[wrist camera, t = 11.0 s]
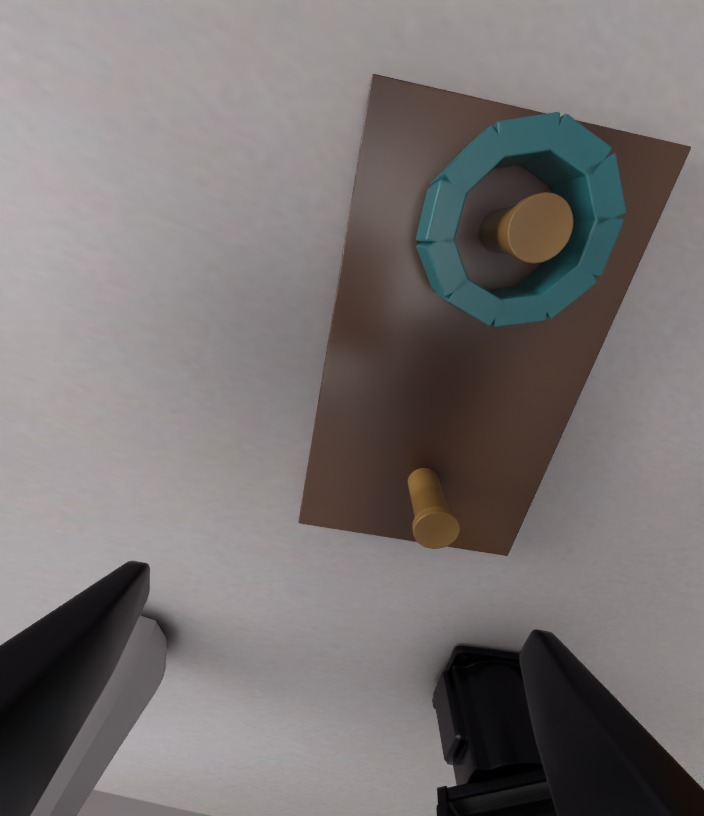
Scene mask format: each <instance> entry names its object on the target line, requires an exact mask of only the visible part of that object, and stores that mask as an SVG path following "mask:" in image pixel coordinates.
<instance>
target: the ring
mask: <svg viewBox="0 0 704 816" xmlns="http://www.w3.org/2000/svg"><path fill="white" fill-rule="evenodd" d="M611 149H612V147H611V146H609V145H608V144H607V143H605V142H604V141H603V140H601V139H600V138H599V137H597V136H596V135H595V134H593V133H592V132H591V131H589V130H588V129H587V128H585V127H584V126H583V125H581V124H580V123H579V122H577V121H576V120H575V119H573V118H572V117H570V116H569V115H568V114H564V115H563V116H561V117H560V113H559V112H555V113H548V114H542V115H535V116H529V117H523V118H516V119H510V120H503V121H499V122H497V123H496V124H495V125H494V126H492V125H491V126H489V127H488V128H487V129H486V130H485V131H483V132H482V133H481V134H480V135H479V136H478V137H476V138H475V139H474V140H473V141H472V142H471V143H469V144H468V145H467V146H466V147H465V148H464V149H463V150H462V151H461V152H460V153H459V154H458V155H457V156H456V157H455V158H454V159H453V161H452V162H451V163H450V164H449V165H448V166H447V167H446V168H445V169H444V170H443V171H442V172H441V173H440V174H439V175H438V176H437V177H436V178H435V179H434V180H433V181H432V182H431V185H432V186H431V187H430V188H428V189H427V192H426V197H425V201H424V205H423V210H422V214H421V218H420V222H419V227H418V231H417V235H416V241H418V242H421V243H419V244H417V245H416V248H417V251H418V253H419V256H420V259H421V261H422V264H423V267H424V269H425V272H426V274H427V277H428V280H429V282H430V285H431V288H432V289H433V290H435V293H436V294H437V295H439V296H440V297H442V298H443V299H445V300H446V301H448V302H449V303H451V304H452V305H454V306H456V307H458V308H459V309H461V310H463V311H464V312H466V313H468V314H469V315H471V316H473V317H474V318H476V319H478V320H479V321H481V322H483V323H485V324H486V325H488V326H490V325H493V326H494V327H501V326H509V325H517V324H525V323H533V322H541V321H546V317H549V318H553V317H554V316H555V315H557V314H558V313H559V312H561V311H562V310H563V309H564V308H566V307H567V306H568V305H569V304H571V303H572V302H573V301H574V300H576V299H577V298H578V297H579V296H581V295H582V294H583V293H584V292H586V291H587V290H588V289H590V288H591V287H592V286H593V285H595V284H596V283H597V280H596V279H595V277H600V276H601V275H602V273H603V271H604V268H605V266H606V264H607V261H608V259H609V256H610V254H611V252H612V249H613V247H614V245H615V242H616V240H617V237H618V235H619V233H620V230H621V228H622V226H623V223H624V219H623V218H618V217H619V216H621V215H624V214H625V213H626V207H625V202H624V196H623V191H622V185H621V180H620V174H619V168H618V163H617V157H616V154H615V153H613V154H610V155H608V154H609V152H610V151H611ZM515 165H521V166H523V167H524V168H526V169H527V170H528V171H530V172H531V173H533V174H534V175H536V176H537V177H539V178H540V179H541V180H543V181H544V182H546V183H547V184H549V185H550V187H551V191H552V193H554V194H557V195H559V196H561V197H562V198H563V199H564V200H565V201H566V202H567V203H568V204H569V206H570V208H571V211H572V215H573V228H572V232H571V235H570V238H569V240H568V242H567V243H566V245H565V246H564V248H563V249H562V250H561V251H560V252H559V253H558V254H557V255H555V256H554V257H553V258H551V259H549V260H547V261H545V262H544V263H543V264H542V265H540V266H539V267H538V268H537V269H536V270H534V271H533V272H532V273H531V274H530V275H529V276H527V277H526V278H525V279H524V280H523V281H521V282H520V283H519V284H518V285H517V286H515V287H507V288H499V289H492V290H485V289H484V288H482V287H480V286H479V285H477V284H475V283H474V282H472V281H471V280H469V279H468V277H467V274H466V271H465V268H464V265H463V262H462V259H461V256H460V253H459V250H458V247H457V244H456V241H455V237H456V233H457V230H458V226H459V222H460V219H461V215H462V211H463V207H464V204H465V200H466V196H467V193H468V192H469V191H470V190H471V189H472V188H473V187H474V186H475V185H476V184H478V183H479V182H480V181H481V180H482V179H483V178H484V177H485V176H486V175H487V174H488V173H489V172H490V171H491V170H492V169H494V168H501V167H508V166H515ZM594 276H595V277H594Z"/></svg>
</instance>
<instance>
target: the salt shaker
mask: <svg viewBox="0 0 704 816" xmlns="http://www.w3.org/2000/svg"><path fill="white" fill-rule="evenodd" d="M166 642H167V639H166V637H165V635H164V634H163V632H162V630H161V629H160V627H159V625H158V624H157V622H156V621H155V620H152V619H149V618H146V617H143V616H139V618H138V620H137V623H136V625H135V627H134V629H133V631H132V633H131V636H130V638H129V640H128V642H127V644H126V646H125V649H124V651H123V653H122V655H121V657H120V659H119V662H118V664H117V666H116V668H115V670H114V672H113V674H112V676H111V678H110V679H109V681H108V683H107V685H106V687H105V688H104V690H103V692H102V694H101V695H100V697H99V699H98V700H97V702H96V704H95V706H94V707H93V709H92V711H91V712H90V714H89V716H88V718H87V719H86V721H85V723H84V725H83V726H82V728H81V730H80V731H79V733H78V735H77V737H76V738H75V740H74V742H73V743H72V745H71V747H70V749H69V750H68V752H67V754H66V755H65V757H64V759H63V761H62V762H61V764H60V766H59V768H58V769H57V771H56V773H55V774H54V776H53V778H52V780H51V781H50V783H49V785H48V786H47V788H46V790H45V792H44V793H43V795H42V797H41V799H40V800H39V802H38V804H37V805H36V807H35V809H34V811H33V812H32V814H31V816H76V815H77V814H78V812H79V811H80V809H81V807H82V806H83V804H84V803H85V801H86V799H87V798H88V796H89V795H90V793H91V791H92V790H93V788H94V787H95V785H96V784H97V782H98V780H99V779H100V777H101V776H102V774H103V772H104V771H105V769H106V768H107V766H108V764H109V763H110V761H111V760H112V758H113V757H114V755H115V754H116V752H117V750H118V749H119V747H120V746H121V744H122V743H123V741H124V740H125V738H126V737H127V735H128V734H129V732H130V731H131V729H132V727H133V726H134V724H135V723H136V721H137V720H138V718H139V717H140V715H141V714H142V712H143V711H144V709H145V708H146V706H147V704H148V703H149V701H150V700H151V698H152V697H153V695H154V694H155V692H156V691H157V689H158V687H159V685H160V683H161V681H162V679H163V676H164V672H165V667H166Z"/></svg>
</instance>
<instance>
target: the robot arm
mask: <svg viewBox="0 0 704 816" xmlns="http://www.w3.org/2000/svg"><path fill="white" fill-rule="evenodd" d="M149 589H150V567H149V565H148V564H147V563H143V562H137V561H129V562H127V563H125V564H124V565H122V566H121V567H119V568H117V569H116V570H114V571H113V572H111V573H110V574H108V575H107V576H105V577H104V578H102V579H101V580H99V581H98V582H96V583H95V584H93V585H92V586H90V587H89V588H87V589H86V590H84V591H83V592H81V593H79V594H78V595H76V596H75V597H73V598H72V599H70V600H69V601H67V602H66V603H64V604H63V605H61V606H60V607H58V608H57V609H55V610H54V611H52V612H51V613H49V614H48V615H46V616H45V617H43V618H41V619H40V620H38V621H37V622H35V623H34V624H32V625H31V626H29V627H28V628H26V629H25V630H23V631H22V632H20V633H19V634H17V635H16V636H14V637H13V638H11V639H10V640H8V641H7V642H5V643H3V644H2V645H0V816H31V814H32V812H33V811H34V809H35V807H36V805H37V804H38V802H39V800H40V799H41V797H42V795H43V793H44V792H45V790H46V788H47V786H48V785H49V783H50V781H51V780H52V778H53V776H54V774H55V773H56V771H57V769H58V768H59V766H60V764H61V762H62V761H63V759H64V757H65V755H66V754H67V752H68V750H69V749H70V747H71V745H72V743H73V742H74V740H75V738H76V737H77V735H78V733H79V731H80V730H81V728H82V726H83V725H84V723H85V721H86V719H87V718H88V716H89V714H90V712H91V711H92V709H93V707H94V706H95V704H96V702H97V700H98V699H99V697H100V695H101V694H102V692H103V690H104V688H105V687H106V685H107V683H108V681H109V679H110V678H111V676H112V674H113V672H114V670H115V668H116V666H117V664H118V662H119V659H120V657H121V655H122V653H123V651H124V649H125V646H126V644H127V642H128V640H129V638H130V636H131V633H132V631H133V629H134V627H135V625H136V623H137V620H138V618H139V616H140V614H141V612H142V610H143V607H144V605H145V603H146V601H147V598H148V595H149ZM432 701H433V707H434V708H435V709H436V713H437V719H438V725H439V731H440V737H441V743H442V749H443V755H444V759H445V761H446V762H447V764H450V765H453V768H454V773H455V779H456V785H457V786H453V787H448V788H447V786H443V787H438V788H437V795H438V805H437V816H704V789H703V788H702V787H701V786H700V785H699V784H698V783H697V782H696V781H695V780H694V779H693V778H692V777H691V776H690V775H689V774H688V773H687V772H686V771H685V770H684V769H683V768H682V767H681V766H680V765H679V763H678V762H677V761H676V760H675V759H674V758H673V757H672V756H671V755H670V754H669V753H668V752H667V751H666V750H665V749H664V748H663V747H662V746H661V745H660V744H659V743H658V742H657V741H656V740H655V739H654V738H653V737H652V735H651V734H650V733H649V732H648V731H647V730H646V729H645V728H644V727H643V726H642V725H641V724H640V723H639V722H638V721H637V720H636V719H635V718H634V717H633V716H632V715H631V714H630V713H629V712H628V711H627V710H626V709H625V708H624V706H623V705H622V704H621V703H620V702H619V701H618V700H617V699H616V698H615V697H614V696H613V695H612V694H611V693H610V692H609V691H608V690H607V689H606V688H605V687H604V686H603V685H602V684H601V683H600V682H599V681H598V680H597V678H596V677H595V676H594V675H593V674H592V673H591V672H590V671H589V670H588V669H587V668H586V667H585V666H584V665H583V664H582V663H581V662H580V661H579V660H578V659H577V658H576V657H575V656H574V655H573V654H572V653H571V652H570V651H569V649H568V648H567V647H566V646H565V645H564V644H563V643H562V642H561V641H560V640H559V639H558V638H557V637H556V636H555V635H554V634H553V633H551V632H548V631H543V630H533V631H532V632H531V633H530V635H529V637H528V638H527V640H526V642H525V644H524V646H523V647H522V649H521V651H520V654H518V653H511V652H504V651H497V650H490V649H483V648H476V647H469V646H457V647H456V648H455V649H454V651H453V653H452V655H451V658H450V660H449V662H448V665H447V667H446V669H445V671H444V672H443V673H442V675H441V677H440V680H439V682H438V684H437V687H436V689H435V691H434V697H433V700H432Z"/></svg>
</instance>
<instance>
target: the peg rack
mask: <svg viewBox="0 0 704 816" xmlns="http://www.w3.org/2000/svg"><path fill="white" fill-rule="evenodd" d="M542 114H546V113H542V112H537V111H533V110H529V109H524V108H520V107H516V106H511V105H507V104H503V103H498V102H494V101H490V100H485V99H481V98H476V97H472V96H468V95H463V94H459V93H455V92H450V91H446V90H442V89H437V88H433V87H429V86H424V85H420V84H415V83H411V82H407V81H402V80H398V79H394V78H389V77H385V76H381V75H376V74H373V75H372V79H371V85H370V91H369V97H368V103H367V109H366V115H365V121H364V127H363V133H362V139H361V145H360V152H359V158H358V164H357V170H356V176H355V182H354V188H353V194H352V200H351V206H350V212H349V218H348V225H347V231H346V237H345V243H344V249H343V255H342V261H341V267H340V273H339V279H338V285H337V291H336V298H335V304H334V310H333V316H332V322H331V328H330V334H329V340H328V346H327V352H326V358H325V364H324V371H323V377H322V383H321V389H320V395H319V401H318V407H317V413H316V419H315V425H314V431H313V437H312V444H311V450H310V456H309V462H308V468H307V474H306V480H305V486H304V492H303V498H302V504H301V510H300V517H299V523H301V524H307V525H314V526H320V527H326V528H333V529H339V530H345V531H352V532H358V533H365V534H371V535H377V536H384V537H390V538H397V539H403V540H409V541H416V542H418V543H419V544H421V545H422V546H424V547H427V548H432V549H438V548H443V547H446V546H448V547H454V548H460V549H467V550H473V551H479V552H486V553H492V554H499V555H505V556H508V554H509V552H510V549H511V547H512V545H513V543H514V540H515V538H516V536H517V534H518V532H519V529H520V527H521V525H522V523H523V520H524V518H525V516H526V514H527V512H528V509H529V507H530V505H531V503H532V500H533V498H534V496H535V494H536V492H537V489H538V487H539V485H540V483H541V480H542V478H543V476H544V474H545V472H546V469H547V467H548V465H549V463H550V460H551V458H552V456H553V454H554V452H555V449H556V447H557V445H558V443H559V440H560V438H561V436H562V434H563V432H564V429H565V427H566V425H567V423H568V420H569V418H570V416H571V414H572V412H573V409H574V407H575V405H576V403H577V400H578V398H579V396H580V394H581V392H582V389H583V387H584V385H585V383H586V380H587V378H588V376H589V374H590V372H591V369H592V367H593V365H594V363H595V360H596V358H597V356H598V354H599V352H600V349H601V347H602V345H603V343H604V340H605V338H606V336H607V334H608V331H609V329H610V327H611V325H612V323H613V320H614V318H615V316H616V314H617V311H618V309H619V307H620V305H621V303H622V300H623V298H624V296H625V294H626V291H627V289H628V287H629V285H630V283H631V280H632V278H633V276H634V274H635V271H636V269H637V267H638V265H639V263H640V260H641V258H642V256H643V254H644V251H645V249H646V247H647V245H648V243H649V240H650V238H651V236H652V234H653V231H654V229H655V227H656V225H657V223H658V220H659V218H660V216H661V214H662V211H663V209H664V207H665V205H666V203H667V200H668V198H669V196H670V194H671V191H672V189H673V187H674V185H675V183H676V180H677V178H678V176H679V174H680V171H681V169H682V167H683V165H684V163H685V160H686V158H687V156H688V154H689V151H690V149H691V147H690V146H686V145H681V144H677V143H673V142H668V141H664V140H659V139H655V138H651V137H646V136H642V135H638V134H633V133H629V132H625V131H620V130H616V129H612V128H607V127H603V126H598V125H594V124H590V123H585V122H581V121H577V120H576V121H577V122H579V123H580V124H581V125H583V126H584V127H585V128H587V129H588V130H589V131H591V132H592V133H593V134H595V135H596V136H597V137H599V138H600V139H601V140H603V141H604V142H605V143H607V144H608V145H609V146H611V147H612V149H611V151H610V152H609V154H608V155H610V154H613V153H615V154H616V157H617V163H618V168H619V174H620V180H621V185H622V191H623V196H624V202H625V207H626V213H625V214H624V215H621V216H619V217H618V218H623V219H624V223H623V226H622V228H621V230H620V233H619V235H618V237H617V240H616V242H615V245H614V247H613V249H612V252H611V254H610V256H609V259H608V261H607V264H606V266H605V268H604V271H603V273H602V275H601V276H600V277H595V276H594V277H595V279H596V280H597V283H596V284H595V285H593V286H592V287H591V288H590V289H588V290H587V291H586V292H584V293H583V294H582V295H581V296H579V297H578V298H577V299H576V300H574V301H573V302H572V303H571V304H569V305H568V306H567V307H566V308H564V309H563V310H562V311H561V312H559V313H558V314H557V315H555V316H554V317H553V318H549V317H546V321H541V322H533V323H525V324H517V325H509V326H501V327H494V326H493V325H490V326H488V325H486V324H485V323H483V322H481V321H479V320H478V319H476V318H474V317H473V316H471V315H469V314H468V313H466V312H464V311H463V310H461V309H459V308H458V307H456V306H454V305H452V304H451V303H449V302H448V301H446V300H445V299H443V298H442V297H440V296H439V295H437V294H436V293H435V290H433V289H432V288H431V285H430V282H429V280H428V277H427V274H426V272H425V269H424V267H423V264H422V261H421V259H420V256H419V253H418V251H417V248H416V245H417V244H419V243H421V242H418V241H416V235H417V231H418V227H419V222H420V218H421V214H422V210H423V205H424V201H425V197H426V192H427V189H428V188H430V187H431V186H432V185H431V182H432V181H433V180H434V179H435V178H436V177H437V176H438V175H439V174H440V173H441V172H442V171H443V170H444V169H445V168H446V167H447V166H448V165H449V164H450V163H451V162H452V161H453V159H454V158H455V157H456V156H457V155H458V154H459V153H460V152H461V151H462V150H463V149H464V148H465V147H466V146H467V145H468V144H469V143H471V142H472V141H473V140H474V139H475V138H476V137H478V136H479V135H480V134H481V133H482V132H483V131H485V130H486V129H487V128H488V127H489V126H491V125H492V126H494V125H495V124H496V123H497V122H499V121H503V120H510V119H516V118H523V117H529V116H535V115H542ZM572 228H573V215H572V211H571V208H570V206H569V204H568V203H567V202H566V201H565V200H564V199H563V198H562V197H561V196H559V195H557V194H554V193H552V191H551V187H550V185H549V184H547V183H546V182H544V181H543V180H541V179H540V178H539V177H537V176H536V175H534V174H533V173H531V172H530V171H528V170H527V169H526V168H524V167H523V166H521V165H515V166H508V167H501V168H494V169H492V170H491V171H490V172H489V173H488V174H487V175H486V176H485V177H484V178H483V179H482V180H481V181H480V182H479V183H478V184H476V185H475V186H474V187H473V188H472V189H471V190H470V191H469V192H468V193H467V196H466V200H465V204H464V207H463V211H462V215H461V219H460V222H459V226H458V230H457V233H456V237H455V241H456V244H457V247H458V250H459V253H460V256H461V259H462V262H463V265H464V268H465V271H466V274H467V277H468V279H469V280H471V281H472V282H474V283H475V284H477V285H479V286H480V287H482V288H484V289H485V290H492V289H499V288H507V287H515V286H517V285H518V284H519V283H520V282H521V281H523V280H524V279H525V278H526V277H527V276H529V275H530V274H531V273H532V272H533V271H534V270H536V269H537V268H538V267H539V266H540V265H542V264H543V263H544V262H545V261H547V260H549V259H551V258H553V257H554V256H555V255H557V254H558V253H559V252H560V251H561V250H562V249H563V248H564V246H565V245H566V243H567V242H568V240H569V238H570V235H571V232H572Z"/></svg>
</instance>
